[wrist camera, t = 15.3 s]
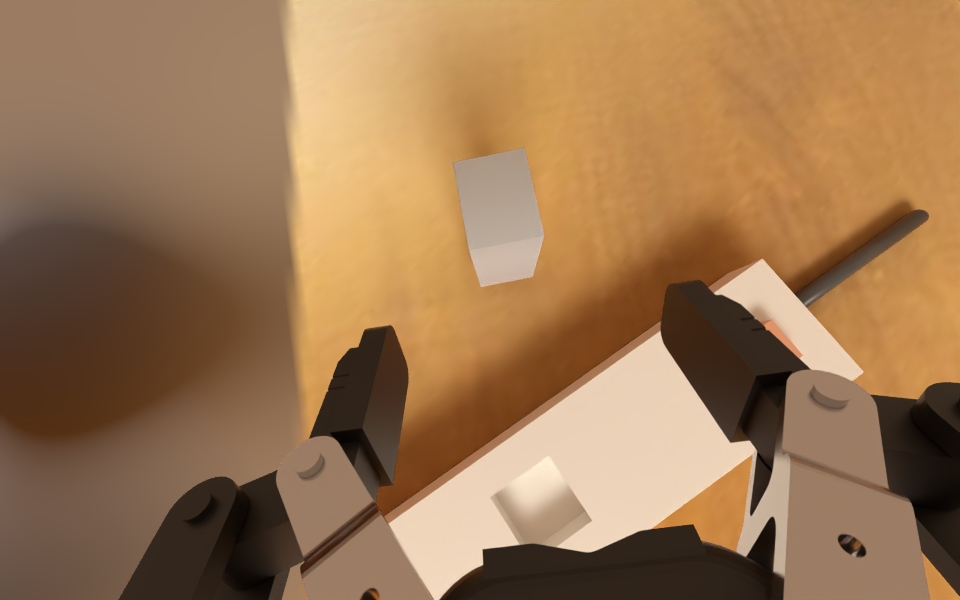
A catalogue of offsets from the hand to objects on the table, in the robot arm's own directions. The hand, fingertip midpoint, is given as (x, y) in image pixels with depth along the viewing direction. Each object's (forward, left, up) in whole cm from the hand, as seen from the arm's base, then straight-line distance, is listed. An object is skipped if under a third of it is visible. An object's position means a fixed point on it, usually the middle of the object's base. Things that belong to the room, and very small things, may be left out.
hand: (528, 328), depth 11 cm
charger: (-3, -6, -15) cm, 16 cm away
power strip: (-6, +8, -15) cm, 18 cm away
